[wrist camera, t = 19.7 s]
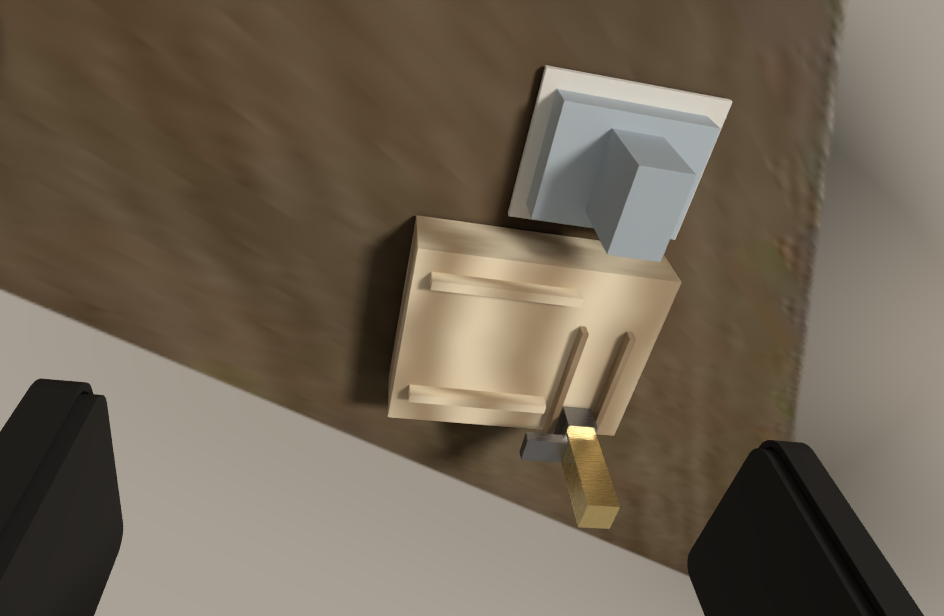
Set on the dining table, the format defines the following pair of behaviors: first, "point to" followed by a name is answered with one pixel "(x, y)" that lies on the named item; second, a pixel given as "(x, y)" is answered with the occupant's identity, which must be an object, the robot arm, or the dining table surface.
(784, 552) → the robot arm
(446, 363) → the tan box base
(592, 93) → the mat
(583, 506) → the latch
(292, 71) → the dining table surface
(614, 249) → the cover
